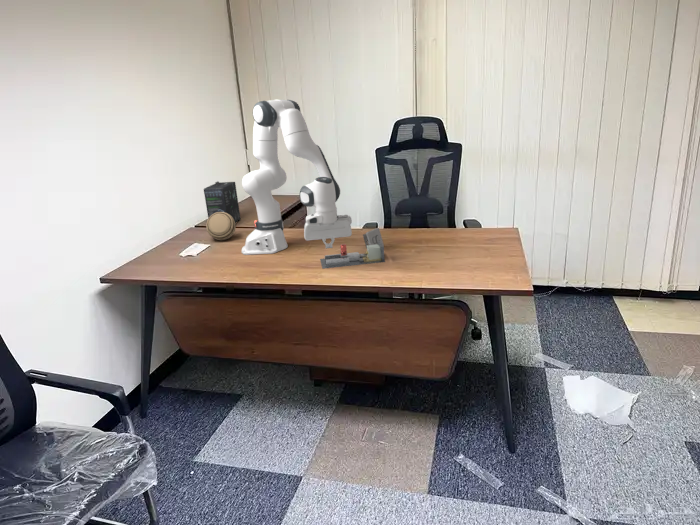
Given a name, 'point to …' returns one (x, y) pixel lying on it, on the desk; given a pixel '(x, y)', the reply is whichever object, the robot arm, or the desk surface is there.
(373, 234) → the electrical switch
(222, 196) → the headset box
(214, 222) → the mechanical component
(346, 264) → the press
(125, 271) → the desk surface
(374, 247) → the block
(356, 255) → the ram
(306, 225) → the robot arm
